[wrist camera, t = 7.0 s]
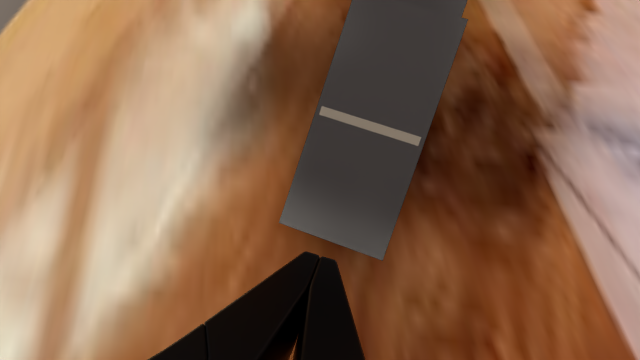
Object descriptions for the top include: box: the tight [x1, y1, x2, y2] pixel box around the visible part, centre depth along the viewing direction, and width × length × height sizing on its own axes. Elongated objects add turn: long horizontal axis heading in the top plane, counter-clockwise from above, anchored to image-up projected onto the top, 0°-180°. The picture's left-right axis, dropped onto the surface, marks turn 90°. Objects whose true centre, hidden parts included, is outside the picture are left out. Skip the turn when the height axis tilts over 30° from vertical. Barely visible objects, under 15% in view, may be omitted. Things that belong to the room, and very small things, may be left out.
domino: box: [279, 0, 468, 261], centre depth 15 cm, size 2×5×11 cm
